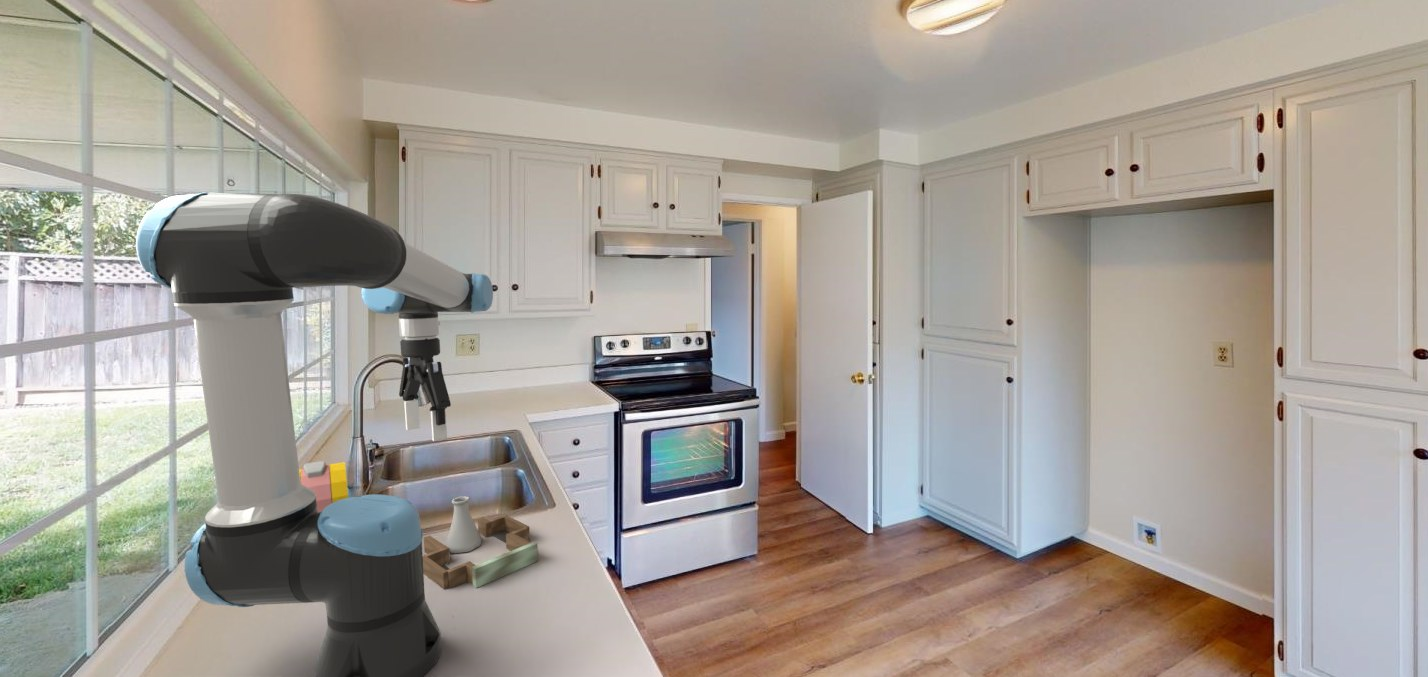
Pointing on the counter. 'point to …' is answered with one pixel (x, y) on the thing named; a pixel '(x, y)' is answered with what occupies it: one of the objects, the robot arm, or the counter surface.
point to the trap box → (487, 571)
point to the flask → (462, 528)
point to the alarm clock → (325, 482)
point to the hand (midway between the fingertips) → (425, 434)
